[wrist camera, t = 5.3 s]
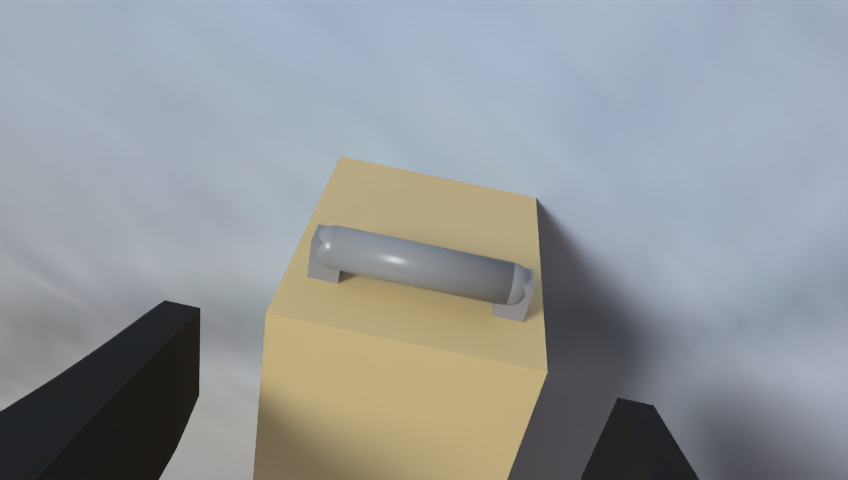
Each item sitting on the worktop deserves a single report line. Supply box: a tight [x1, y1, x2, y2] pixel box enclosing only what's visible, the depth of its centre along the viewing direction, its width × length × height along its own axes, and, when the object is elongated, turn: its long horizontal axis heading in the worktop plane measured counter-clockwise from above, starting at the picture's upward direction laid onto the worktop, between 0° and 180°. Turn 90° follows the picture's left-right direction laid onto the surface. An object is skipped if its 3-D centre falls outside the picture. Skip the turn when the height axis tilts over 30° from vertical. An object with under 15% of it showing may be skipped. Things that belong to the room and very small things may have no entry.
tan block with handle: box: [253, 157, 548, 480], centre depth 15 cm, size 4×11×6 cm, turn 170°
